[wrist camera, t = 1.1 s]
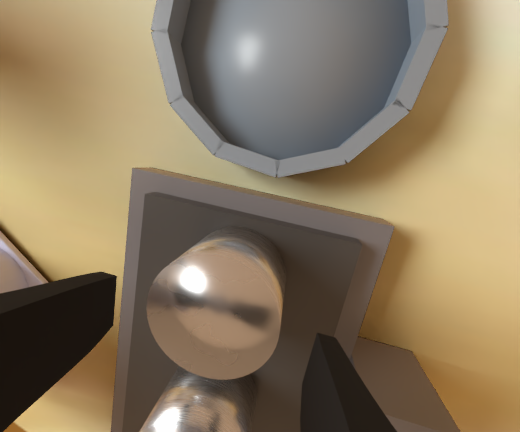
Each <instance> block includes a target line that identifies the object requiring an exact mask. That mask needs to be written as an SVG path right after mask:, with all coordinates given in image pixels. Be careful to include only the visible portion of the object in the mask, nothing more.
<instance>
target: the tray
mask: <svg viewBox="0 0 520 432" xmlns="http://www.w3.org/2000/svg"><path fill="white" fill-rule="evenodd" d="M448 25H449V24H448V9H447V0H157V1H156V7H155V12H154V17H153V22H152V27H151V30H152V31H153V32H151V34H152V38H153V42H154V46H155V50H156V54H157V58H158V62H159V66H160V70H161V74H162V78H163V82H164V86H165V90H166V94H167V98H168V102H169V103H170V104H171V105H170V106H171V107H172V108H173V110H174V111H175V112H176V113H177V114H178V115H179V116H180V118H181V119H182V120H183V121H184V122H185V123H186V125H187V126H188V127H189V128H190V129H191V130H192V131H193V133H194V134H195V135H196V136H197V137H198V138H199V140H200V141H201V142H202V143H203V144H204V145H205V146H206V148H207V149H208V150H209V151H210V152H211V153H212V155H215V157H218V158H221V159H224V160H227V161H230V162H232V163H235V164H238V165H241V166H244V167H247V168H250V169H253V170H255V171H258V172H261V173H264V174H267V175H270V176H273V177H277V176H278V177H283V176H288V175H293V174H299V173H304V172H309V171H314V170H319V169H324V168H329V167H334V166H339V165H344V164H345V163H349V162H350V161H351V160H352V159H354V158H355V157H356V156H357V155H358V154H360V153H361V152H362V151H363V150H364V149H366V148H367V147H368V146H369V145H371V144H372V143H373V142H374V141H375V140H377V139H378V138H379V137H380V136H382V135H383V134H384V133H385V132H386V131H388V130H389V129H390V128H391V127H393V126H394V125H395V124H396V123H397V122H399V121H400V120H401V119H402V118H403V117H405V116H406V115H407V114H408V113H409V111H411V110H412V107H413V105H414V103H415V101H416V99H417V96H418V94H419V92H420V90H421V87H422V85H423V83H424V81H425V78H426V76H427V74H428V72H429V70H430V67H431V65H432V63H433V61H434V58H435V56H436V54H437V52H438V49H439V47H440V45H441V43H442V41H443V38H444V36H445V34H446V32H447V29H448V28H446V27H447V26H448Z"/></svg>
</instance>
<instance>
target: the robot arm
mask: <svg viewBox="0 0 520 432" xmlns="http://www.w3.org/2000/svg"><path fill="white" fill-rule="evenodd" d="M116 278H117V276H115V275H111V274H107V273H104V272H97V273H90V274H85V275H80V276H76V277H71V278H67V279H62V280H58V281H54V282H48V281H47V280H46V279H45V278H44V277H43V276H42V275H41V274H40V273H39V272H38V271H37V270H36V268H35V267H34V266H33V265H32V264H31V263H30V262H29V261H28V260H27V259H26V258H25V257H24V256H23V255H22V254H21V252H20V251H19V250H18V249H17V248H16V247H15V246H14V245H13V244H12V243H11V242H10V241H9V240H8V239H7V238H6V237H5V235H4V234H3V233H2V232H1V231H0V432H3V431H4V430H5V429H6V428H7V427H8V426H9V425H10V424H11V423H13V422H14V421H15V420H16V419H17V418H18V417H19V416H20V415H21V414H22V413H23V412H24V411H25V410H27V409H28V408H29V407H30V406H31V405H32V404H33V403H34V402H35V401H37V400H38V399H39V398H40V397H41V396H42V395H43V394H44V393H45V392H46V391H48V390H49V389H50V388H51V387H52V386H53V385H54V384H55V383H56V382H58V381H59V380H60V379H61V378H62V377H63V376H64V375H65V374H66V373H67V372H69V371H70V370H71V369H72V368H73V367H74V366H75V365H76V364H77V363H78V362H79V361H80V360H82V359H83V358H84V357H85V356H86V355H87V354H88V353H89V352H90V351H91V350H92V349H93V348H94V347H95V346H96V344H97V343H98V342H99V341H100V340H101V339H102V338H103V337H104V335H105V334H106V333H107V332H108V331H109V330H110V328H111V327H112V326H113V319H114V306H115V292H116ZM300 430H301V432H397V431H396V429H395V428H394V427H393V425H392V424H391V422H390V421H389V420H388V418H387V417H386V415H385V414H384V412H383V411H382V410H381V408H380V407H379V405H378V404H377V402H376V401H375V399H374V398H373V396H372V395H371V393H370V392H369V390H368V389H367V387H366V386H365V384H364V382H363V381H362V379H361V378H360V376H359V375H358V373H357V371H356V370H355V368H354V366H353V365H352V363H351V362H350V360H349V358H348V357H347V355H346V353H345V352H344V350H343V348H342V347H341V345H340V343H339V342H338V340H337V339H336V338H335V337H332V336H328V335H324V334H321V333H317V334H316V338H315V341H314V344H313V348H312V351H311V355H310V358H309V361H308V365H307V368H306V372H305V375H304V379H303V382H302V393H301V411H300Z"/></svg>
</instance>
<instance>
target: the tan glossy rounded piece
mask: <svg viewBox="0 0 520 432" xmlns="http://www.w3.org/2000/svg"><path fill="white" fill-rule="evenodd" d="M285 284H286V268H285V264H284V261H283V258H282V256H281V254H280V252H279V250H278V249H277V248H276V246H275V245H274V244H273V243H272V242H271V241H270V240H269V239H268V238H267V237H265V236H264V235H262V234H261V233H259V232H257V231H255V230H252V229H249V228H246V227H240V226H231V227H224V228H220V229H218V230H215V231H213V232H212V233H210V234H209V235H207V236H206V237H205V238H203V239H202V240H201V241H199V242H198V243H197V244H195V245H194V246H193V247H191V248H190V249H189V250H187V251H186V252H185V253H183V254H182V255H181V256H180V257H178V258H177V259H176V260H174V261H173V262H172V263H170V264H169V265H168V266H166V267H165V268H164V269H163V270H162V271H161V272H160V273H159V274H158V275H157V277H156V278H155V280H154V281H153V283H152V285H151V287H150V290H149V294H148V298H147V318H148V323H149V326H150V329H151V332H152V334H153V336H154V338H155V340H156V342H157V343H158V345H159V346H160V348H161V349H162V350H163V351H164V353H165V354H166V355H167V356H168V357H169V358H170V359H171V360H172V361H174V362H175V363H176V364H178V365H179V366H180V367H182V368H184V369H185V370H187V371H189V372H191V373H193V374H196V375H199V376H202V377H206V378H210V379H218V380H227V379H235V378H239V377H243V376H246V375H248V374H250V373H252V372H254V371H256V370H257V369H259V368H260V367H261V366H263V365H264V364H265V363H266V361H267V360H268V359H269V358H270V356H271V355H272V354H273V352H274V350H275V348H276V345H277V342H278V339H279V334H280V326H281V318H282V309H283V301H284V293H285Z"/></svg>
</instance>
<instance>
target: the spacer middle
mask: <svg viewBox="0 0 520 432" xmlns="http://www.w3.org/2000/svg"><path fill="white" fill-rule="evenodd" d="M256 401H257V390H256V386H255V383H254V381H253V379H252V377H251V375H250V374H248V375H246V376H243V377H239V378H235V379H227V380H218V379H210V378H206V377H202V376H199V375H196V374H193V373H191V372H189V371H187V370H185V369H184V368H182V367H180V366H179V367H178V368H177V370H176V372H175V373H174V375H173V377H172V378H171V380H170V382H169V383H168V385H167V387H166V388H165V390H164V391H163V393H162V395H161V396H160V398H159V400H158V401H157V403H156V405H155V406H154V408H153V410H152V411H151V413H150V415H149V416H148V418H147V420H146V421H145V423H144V425H143V426H142V428H141V430H140V431H139V432H251V428H252V423H253V417H254V412H255V406H256Z"/></svg>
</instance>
